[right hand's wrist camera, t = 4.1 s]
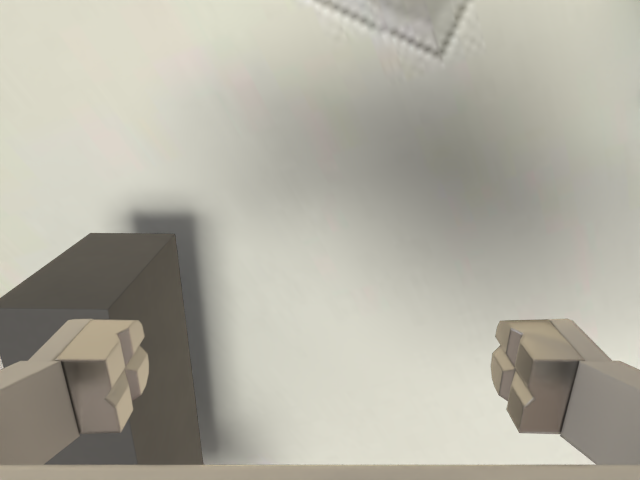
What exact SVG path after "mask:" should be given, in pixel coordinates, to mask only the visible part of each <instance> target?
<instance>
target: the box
mask: <svg viewBox="0 0 640 480" xmlns="http://www.w3.org/2000/svg"><path fill="white" fill-rule="evenodd" d="M72 319H114V320H139V321H140V322H141V324H142V326H143V331H144V336H145V337H144V339H143V340H142V342H141V343H140V346H141V347H142V348H143V349H144V350H145V351H146V352H147V353H148V360H149V375H148V379H147V384H146V387H145V389H144V391H143V393H142V395H141V396H139V397H138V398H136V399H135V400H133V401H132V405H133V411H132V413H131V415H130V417H129V419H128V421H127V422H126V424H125V426H124V428H123V430H122V432H121V433H100V434H79V435H80V436H79V437H78V438H77V439H75V440H74V441H73V442H72V443H70V444H69V445H68V446H66V447H65V448H64V449H63V450H61V451H60V452H59V453H58V454H56V455H55V456H54V457H53V458H51V459H50V460H49V461H47V462H46V463H45V464H44V465H203V458H202V450H201V442H200V434H199V426H198V418H197V409H196V401H195V393H194V385H193V377H192V369H191V361H190V352H189V344H188V336H187V328H186V320H185V312H184V303H183V295H182V287H181V279H180V271H179V263H178V255H177V246H176V238H175V234H137V233H90V234H88V235H87V236H86V237H84V238H83V239H82V240H80V241H79V242H77V243H76V244H75V245H73V246H72V247H70V248H69V249H68V250H66V251H65V252H64V253H62V254H61V255H59V256H58V257H57V258H55V259H54V260H52V261H51V262H50V263H48V264H47V265H46V266H44V267H43V268H41V269H40V270H39V271H37V272H36V273H34V274H33V275H32V276H30V277H29V278H27V279H26V280H25V281H23V282H22V283H21V284H19V285H18V286H16V287H15V288H14V289H12V290H11V291H9V292H8V293H7V294H5V295H4V296H3V297H1V298H0V356H1V360H2V363H3V366H4V368H6V367H8V366H10V365H12V364H15V363H17V362H19V361H28V360H29V359H30V358H31V357H32V356H33V355H34V354H35V353H36V352H37V351H38V350H39V349H40V348H41V347H42V346H43V345H44V344H45V343H46V342H47V341H48V340H49V339H50V338H51V337H52V336H53V335H54V334H55V333H56V332H57V331H58V330H59V329H60V328H61V327H62V326H63V325H64V324H65V323H66V322H67V321H68V320H72Z"/></svg>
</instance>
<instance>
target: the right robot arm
mask: <svg viewBox="0 0 640 480" xmlns="http://www.w3.org/2000/svg"><path fill="white" fill-rule="evenodd" d="M144 337H145V336H144V331H143V326H142V324H141V322H140V321H139V320H114V319H72V320H68V321H67V322H66V323H65V324H64V325H63V326H62V327H61V328H60V329H59V330H58V331H57V332H56V333H55V334H54V335H53V336H52V337H51V338H50V339H49V340H48V341H47V342H46V343H45V344H44V345H43V346H42V347H41V348H40V349H39V350H38V351H37V352H36V353H35V354H34V355H33V356H32V357H31V358H30V359H29V360H28V361H19V362H17V363H15V364H12V365H10V366H8V367H6V368H3V369H1V370H0V480H640V370H639V369H637V368H634V367H632V366H630V365H628V364H625V363H623V362H621V361H612V360H611V359H610V358H609V357H608V356H607V355H606V354H605V353H604V352H603V351H602V350H601V349H600V348H599V347H598V346H597V345H596V344H595V343H594V342H593V341H592V340H591V339H590V338H589V337H588V336H587V335H586V334H585V333H584V332H583V331H582V330H581V329H580V328H579V327H578V326H577V325H576V324H575V323H574V322H573V321H572V320H569V319H545V320H505V321H500V322H499V324H498V326H497V330H496V335H495V337H496V339H497V340H498V342H499V343H500V346H499V347H498V348H497V349H496V350H495V351H494V352H493V353H492V361H491V374H492V380H493V384H494V387H495V389H496V391H497V393H498V395H499V396H501V397H502V398H504V399H505V400H507V401H508V405H507V411H508V413H509V415H510V417H511V419H512V421H513V422H514V424H515V426H516V428H517V430H518V431H519V433H539V434H561V435H560V436H561V437H562V438H564V439H565V440H566V441H567V442H569V443H570V444H571V445H572V446H574V447H575V448H576V449H577V450H579V451H580V452H581V453H583V454H584V455H585V456H586V457H588V458H589V459H590V460H591V461H593V462H594V463H595V464H596V465H44V464H45V463H46V462H47V461H49V460H50V459H51V458H53V457H54V456H55V455H56V454H58V453H59V452H60V451H61V450H63V449H64V448H65V447H66V446H68V445H69V444H70V443H72V442H73V441H74V440H75V439H77V438H78V437H79V436H80V435H79V434H100V433H121V432H122V430H123V428H124V426H125V424H126V422H127V421H128V419H129V417H130V415H131V413H132V411H133V405H132V401H133V400H135V399H136V398H138V397H139V396H141V395H142V393H143V391H144V389H145V387H146V384H147V379H148V375H149V360H148V353H147V352H146V351H145V350H144V349H143V348H142V347H141V346H140V343H141V342H142V340H143V339H144Z"/></svg>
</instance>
